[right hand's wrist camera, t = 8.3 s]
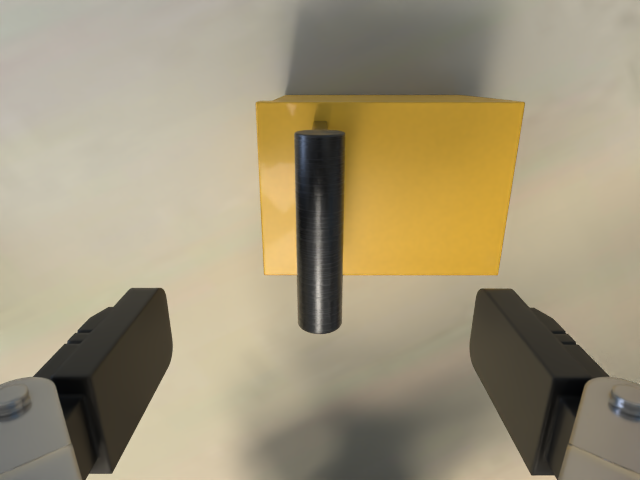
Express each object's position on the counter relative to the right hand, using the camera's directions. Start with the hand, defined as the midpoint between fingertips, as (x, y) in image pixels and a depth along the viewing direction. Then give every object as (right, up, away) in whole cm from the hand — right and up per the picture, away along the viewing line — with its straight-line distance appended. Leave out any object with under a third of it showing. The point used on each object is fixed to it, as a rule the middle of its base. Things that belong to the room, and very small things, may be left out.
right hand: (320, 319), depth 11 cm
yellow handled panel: (+3, +5, +13) cm, 15 cm away
